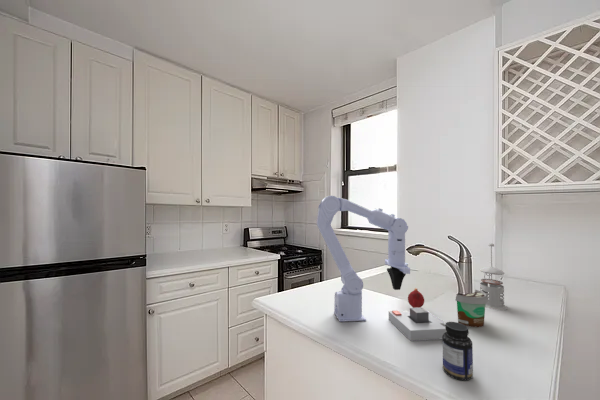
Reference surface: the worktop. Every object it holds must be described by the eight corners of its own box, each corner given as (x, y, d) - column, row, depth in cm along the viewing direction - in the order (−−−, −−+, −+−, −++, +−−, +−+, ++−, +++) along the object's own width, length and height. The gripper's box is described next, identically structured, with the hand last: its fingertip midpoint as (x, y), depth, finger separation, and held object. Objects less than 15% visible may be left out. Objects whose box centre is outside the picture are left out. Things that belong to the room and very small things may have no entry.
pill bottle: (459, 364, 64) (459, 319, 64) (479, 380, 58) (479, 331, 58) (436, 366, 63) (436, 320, 64) (454, 382, 57) (454, 332, 58)
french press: (480, 307, 101) (480, 244, 102) (473, 298, 112) (472, 240, 113) (511, 311, 98) (510, 245, 98) (501, 301, 108) (500, 242, 109)
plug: (416, 332, 81) (416, 312, 81) (409, 326, 85) (409, 307, 85) (428, 331, 81) (428, 312, 81) (421, 325, 85) (421, 307, 85)
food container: (475, 332, 81) (474, 300, 81) (455, 324, 86) (455, 294, 87) (496, 324, 87) (495, 294, 87) (476, 317, 92) (476, 289, 92)
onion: (426, 313, 95) (426, 291, 96) (409, 311, 97) (409, 290, 97) (422, 307, 101) (421, 286, 101) (406, 305, 102) (406, 285, 102)
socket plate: (410, 340, 75) (410, 328, 75) (388, 320, 89) (388, 309, 89) (454, 338, 77) (454, 326, 77) (426, 318, 91) (426, 308, 91)
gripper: (418, 254, 86) (418, 295, 85) (397, 247, 100) (397, 282, 99) (398, 254, 85) (398, 296, 84) (379, 247, 99) (379, 283, 99)
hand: (396, 289), depth 92 cm, fingers closed
